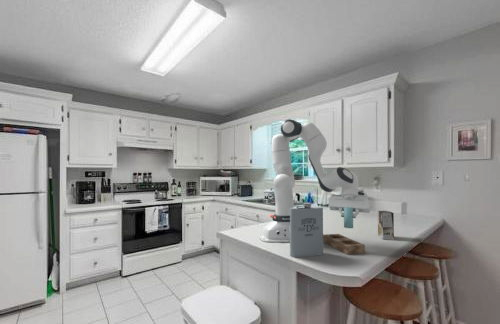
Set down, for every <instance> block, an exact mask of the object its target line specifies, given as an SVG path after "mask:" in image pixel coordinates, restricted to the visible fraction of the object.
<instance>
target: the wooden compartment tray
mask: <svg viewBox="0 0 500 324" xmlns="http://www.w3.org/2000/svg"><path fill="white" fill-rule="evenodd" d="M323 243H325V244H327V245H328V246H331V247H332V248H334V249H336V250H338V251H340V252H342V253H344V254H345V255H357V254H358V255H361V254H365V253H366V248H365V247H366V245H365V244H363V243H361V242H359V241H356V240H354V239H351V238H349V237H347V236H345V235H342V234H340V233H331V234H329V233H327V234H323Z"/></svg>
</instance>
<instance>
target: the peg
mask: <svg viewBox="0 0 500 324" xmlns="http://www.w3.org/2000/svg"><path fill="white" fill-rule="evenodd" d="M343 213H344V217H343V228H345V229H353V228H354V218H353V214H354V212H353V208H350V207H344V211H343Z"/></svg>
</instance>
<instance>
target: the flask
mask: <svg viewBox="0 0 500 324" xmlns="http://www.w3.org/2000/svg"><path fill="white" fill-rule="evenodd" d="M323 235H324V207H323V206H312V203H311V202H303V205H302V204H300V205H299V204H297V205H296V207H294V208H290V242H289V256H290V257H292V258H304V257H306V256H307V257H313V256H315V255H316V256H320V255H324V242H323ZM316 256H315V257H316Z"/></svg>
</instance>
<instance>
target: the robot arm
mask: <svg viewBox="0 0 500 324" xmlns="http://www.w3.org/2000/svg"><path fill="white" fill-rule="evenodd" d="M299 138H300V139H302V140H303V142H304V144H305V145H306V147H307V149H308V160H309V163H310V165H311V167H312V169H313V171H314V174H315V176H316V178H317V181H318V186H319V187H320V189H321V190H323V191H324V192H327V193H332V192H333V191H335V190H336V189H338V188H339V187H340V188H341V193H340V195H335V194H334V195H331V196H329V198H328V200H329V202H328V208H329V210H331V211H336V212H337V211H338V212H339V214H340V218H344V207H350V208H353V219H357V216H358V215H359V213H363V214H364V213H365V214H369V213H370V212H371V203H370V200H369V198H368V195H367V193H366V192H365V191H361V190H359V186H360V185H359V178H358V175H357V174H356V173H355V172H353V171H350V170H349V169H347V168H345V167H339V166H338V167H337V168H335V169H332V171H331V172H328V173H327V174H326V172H325V169H324V167H323V165H322V163H321V158H322V156H323V153H325V151H326V149H327V143H328V142H327V139H326V137H325V136H324V134H323V133H322V132H321V131H320V129H319V128H318V127H317V126H316V124H314V123H313V122H312V121H309V122H305V123H304V124H302V123H301V122H298V121H296V120H295V119H290V118H289V119H285V120H284V121H282V123H281V125H280V133H277V134H275V135H273V137H272V138H271V156H272V164H273V168H274V172H275V177H274V179H273V181H272V184H273V194H274V199H275V200H274V202H275V203H274V205H275V213H274V214H273V213H271V214H269V217H270V218H272V220H271V221H270V222H268V223H267V224H266V225H265V226H264V227H263V230H262V234H261V233H260V234H259V235H258V238H259V239H260V240H261V241H263V242H265V243H290V208H295V206H294V204H295V203H294V193H293V188H294V187H295V184H296V182H295V181H296V180H295V174H294V170H293V166H292V160H291V159H292V157H291V150H290V143H291V142H295V141H296V140H298V139H299ZM354 212H355V213H354Z"/></svg>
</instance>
